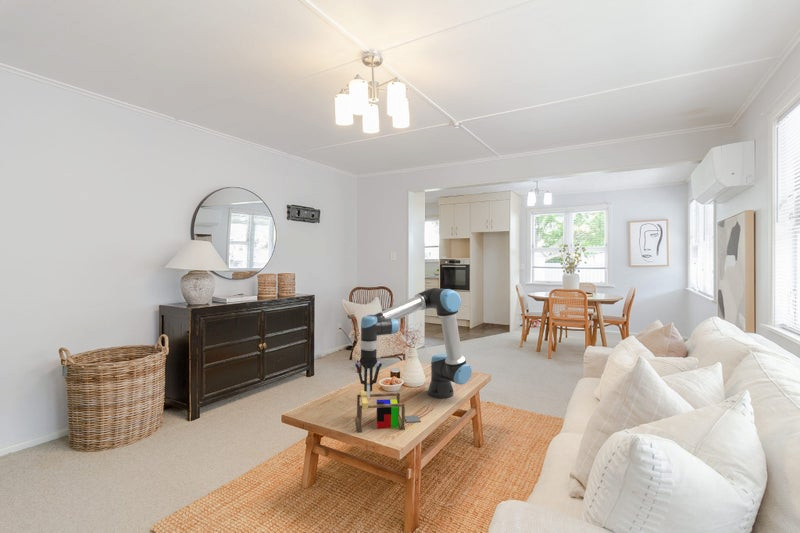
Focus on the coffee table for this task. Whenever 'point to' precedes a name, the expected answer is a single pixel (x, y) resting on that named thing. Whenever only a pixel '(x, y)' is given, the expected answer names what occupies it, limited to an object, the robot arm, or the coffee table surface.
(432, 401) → the coffee table surface
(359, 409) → the rack
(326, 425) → the coffee table surface
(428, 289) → the robot arm
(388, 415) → the puzzle toy
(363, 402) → the bar
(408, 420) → the pad
